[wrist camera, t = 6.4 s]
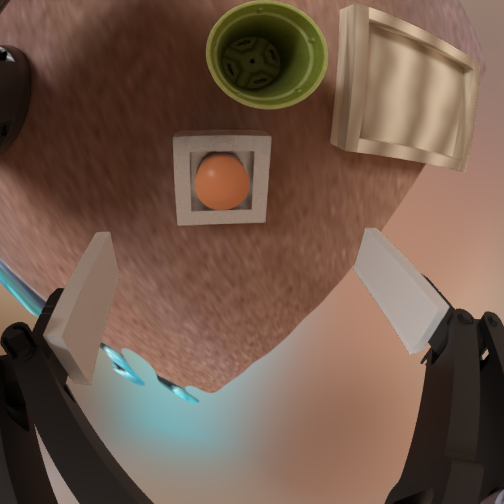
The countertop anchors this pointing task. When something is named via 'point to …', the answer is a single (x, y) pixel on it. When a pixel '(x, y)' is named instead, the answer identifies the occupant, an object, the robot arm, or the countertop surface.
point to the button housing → (229, 141)
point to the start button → (221, 181)
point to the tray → (402, 91)
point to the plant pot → (267, 54)
